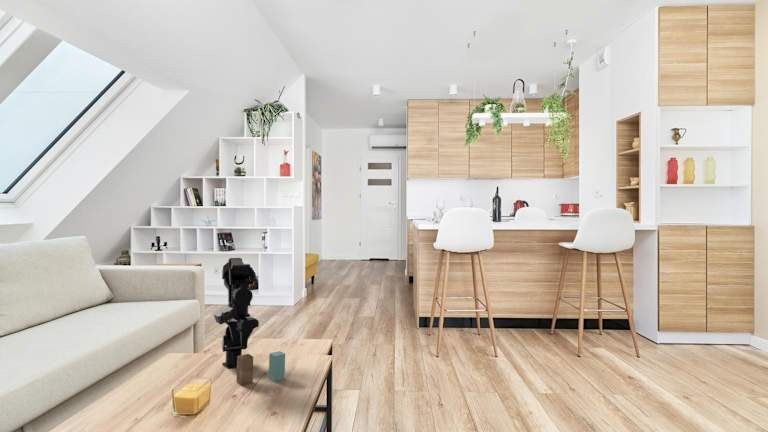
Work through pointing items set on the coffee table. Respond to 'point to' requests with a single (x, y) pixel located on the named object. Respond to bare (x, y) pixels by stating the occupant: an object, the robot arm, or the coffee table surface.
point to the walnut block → (244, 369)
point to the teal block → (277, 366)
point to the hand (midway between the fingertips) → (238, 343)
